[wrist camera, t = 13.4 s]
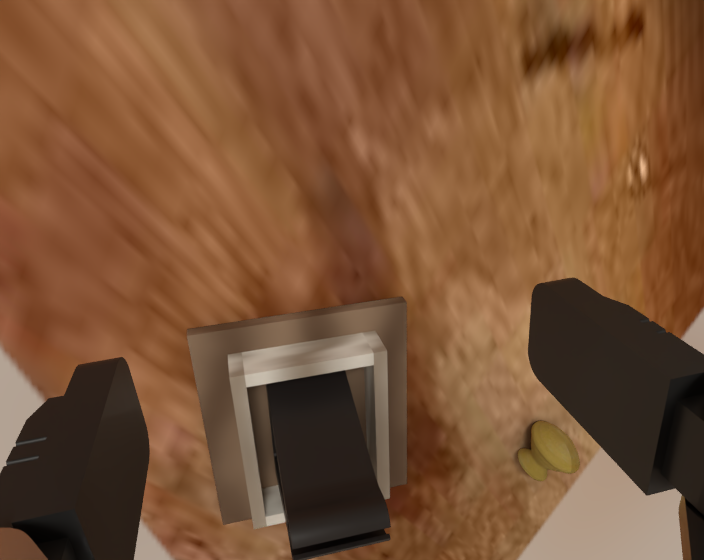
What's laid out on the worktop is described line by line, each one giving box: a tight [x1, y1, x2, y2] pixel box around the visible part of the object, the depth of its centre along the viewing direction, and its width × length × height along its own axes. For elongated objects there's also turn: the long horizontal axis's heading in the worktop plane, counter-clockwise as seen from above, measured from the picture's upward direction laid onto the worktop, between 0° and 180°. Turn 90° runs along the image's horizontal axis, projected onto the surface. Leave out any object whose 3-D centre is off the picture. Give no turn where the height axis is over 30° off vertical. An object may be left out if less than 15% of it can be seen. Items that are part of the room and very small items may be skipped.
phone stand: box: [266, 370, 391, 560], centre depth 38 cm, size 9×6×12 cm, turn 1°
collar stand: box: [187, 297, 407, 529], centre depth 42 cm, size 16×18×4 cm
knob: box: [518, 421, 580, 481], centre depth 50 cm, size 5×5×5 cm
